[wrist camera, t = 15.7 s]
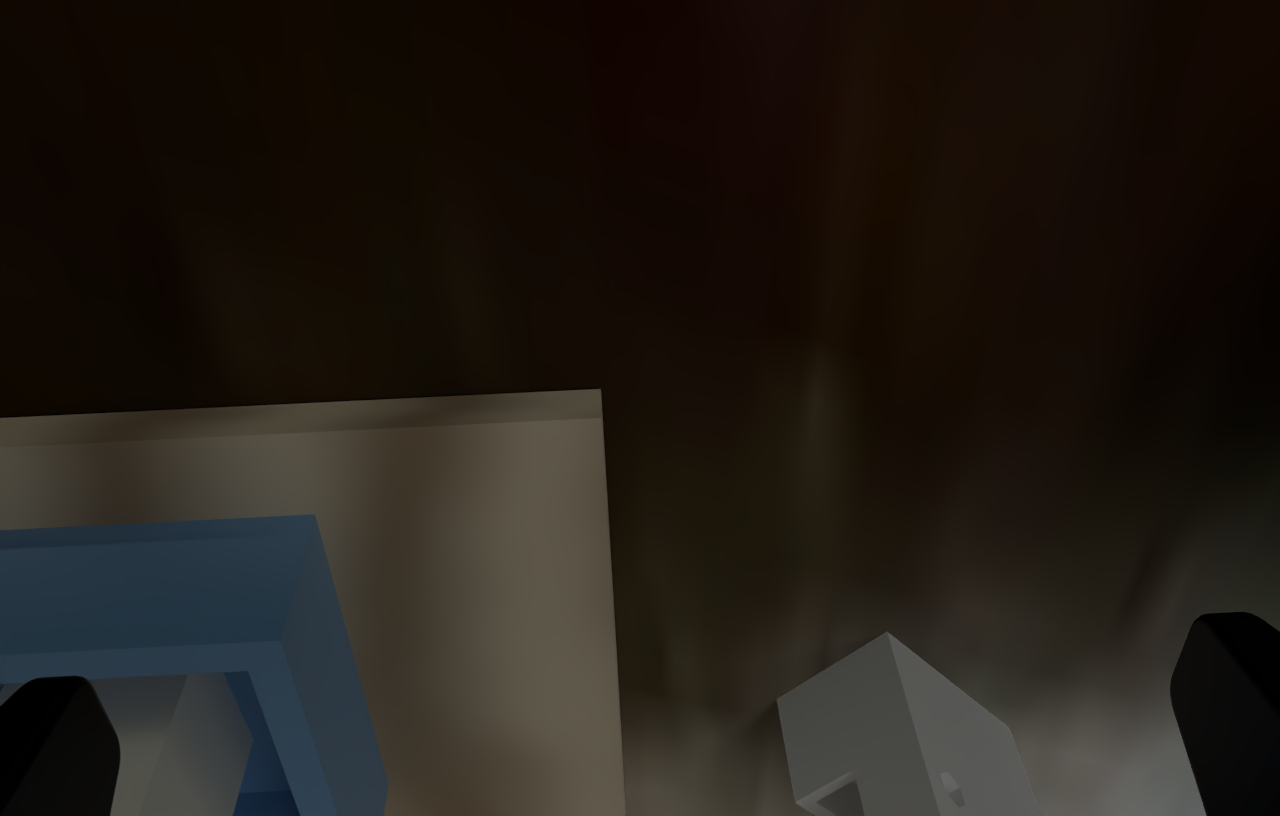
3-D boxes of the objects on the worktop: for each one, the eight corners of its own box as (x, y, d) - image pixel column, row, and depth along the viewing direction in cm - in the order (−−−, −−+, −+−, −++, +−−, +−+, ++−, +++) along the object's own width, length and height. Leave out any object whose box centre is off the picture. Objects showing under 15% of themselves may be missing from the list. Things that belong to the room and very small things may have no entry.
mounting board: (601, 388, 24) (601, 417, 23) (624, 787, 32) (625, 818, 31) (-472, 441, 23) (-509, 472, 22) (-160, 830, 32) (-179, 863, 31)
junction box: (315, 514, 24) (280, 640, 21) (388, 783, 30) (369, 910, 27) (-143, 537, 24) (-238, 667, 21) (21, 803, 30) (-37, 934, 27)
